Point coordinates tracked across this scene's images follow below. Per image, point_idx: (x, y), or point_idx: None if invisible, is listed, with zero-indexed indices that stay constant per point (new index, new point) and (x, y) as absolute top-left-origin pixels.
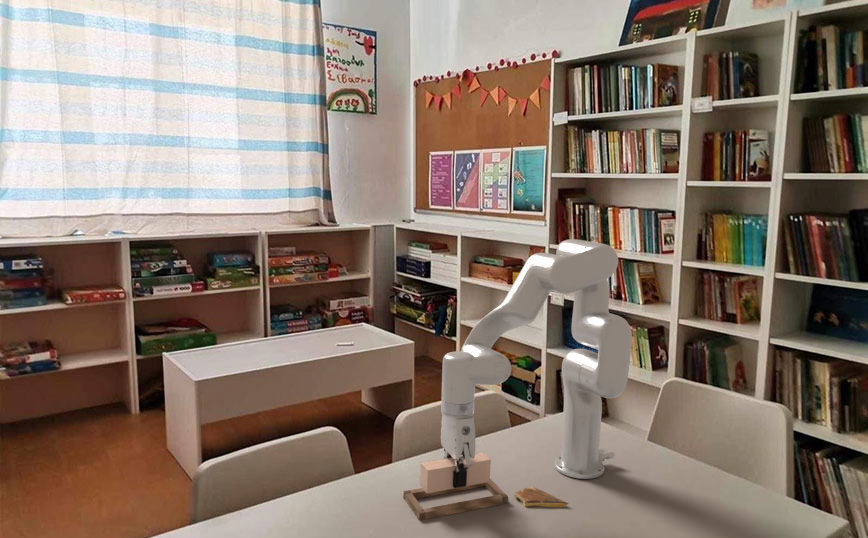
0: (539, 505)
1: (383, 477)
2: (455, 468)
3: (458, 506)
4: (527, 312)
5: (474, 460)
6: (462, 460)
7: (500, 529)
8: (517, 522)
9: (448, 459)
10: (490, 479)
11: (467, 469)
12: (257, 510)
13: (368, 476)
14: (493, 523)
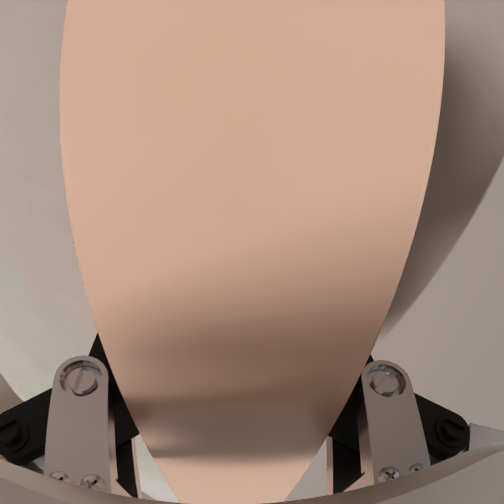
0: None
1: (21, 364)
2: (333, 442)
3: None
4: None
5: (343, 277)
6: (250, 406)
7: (485, 185)
8: (489, 103)
9: (178, 462)
10: None
11: (405, 377)
12: (146, 489)
13: (22, 384)
14: (456, 183)
